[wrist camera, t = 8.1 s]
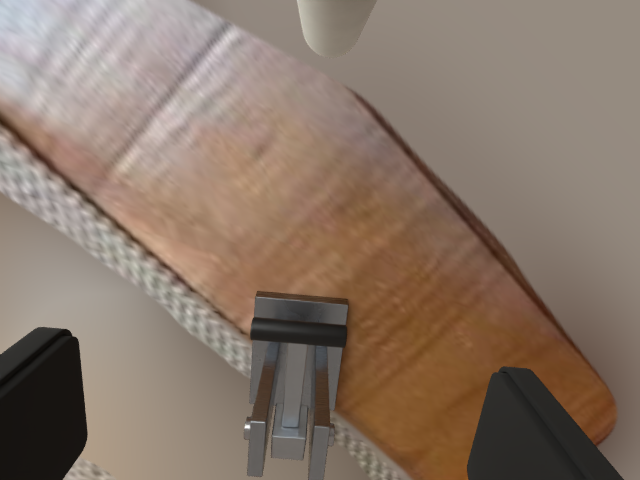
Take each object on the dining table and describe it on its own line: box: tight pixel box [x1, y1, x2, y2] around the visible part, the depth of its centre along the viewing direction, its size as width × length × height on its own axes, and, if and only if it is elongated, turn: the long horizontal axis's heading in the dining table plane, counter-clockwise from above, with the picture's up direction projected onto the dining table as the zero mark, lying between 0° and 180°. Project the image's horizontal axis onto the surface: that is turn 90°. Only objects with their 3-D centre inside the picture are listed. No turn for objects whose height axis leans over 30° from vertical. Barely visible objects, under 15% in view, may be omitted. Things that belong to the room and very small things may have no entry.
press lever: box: [250, 317, 347, 460], centre depth 24 cm, size 12×5×2 cm, turn 173°
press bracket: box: [244, 291, 348, 480], centre depth 31 cm, size 11×8×12 cm
